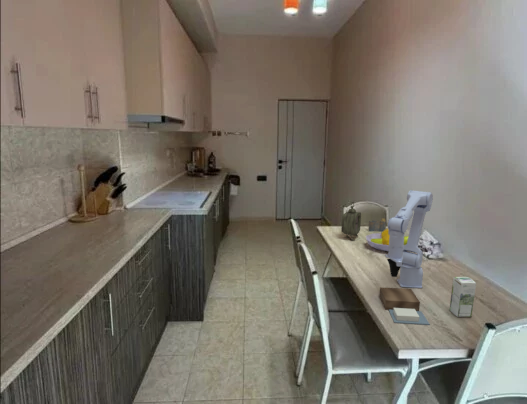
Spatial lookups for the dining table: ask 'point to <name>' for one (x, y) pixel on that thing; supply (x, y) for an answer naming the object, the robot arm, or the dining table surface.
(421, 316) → the mat
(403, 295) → the block
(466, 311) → the syrup box
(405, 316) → the tile
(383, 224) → the architectural model on board
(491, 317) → the dining table surface
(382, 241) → the fruit bowl
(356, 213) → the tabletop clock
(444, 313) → the dining table surface
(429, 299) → the dining table surface
